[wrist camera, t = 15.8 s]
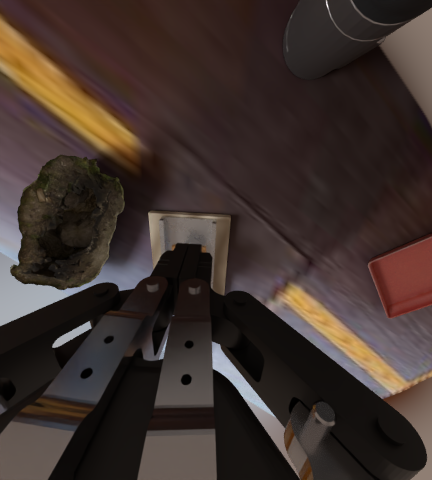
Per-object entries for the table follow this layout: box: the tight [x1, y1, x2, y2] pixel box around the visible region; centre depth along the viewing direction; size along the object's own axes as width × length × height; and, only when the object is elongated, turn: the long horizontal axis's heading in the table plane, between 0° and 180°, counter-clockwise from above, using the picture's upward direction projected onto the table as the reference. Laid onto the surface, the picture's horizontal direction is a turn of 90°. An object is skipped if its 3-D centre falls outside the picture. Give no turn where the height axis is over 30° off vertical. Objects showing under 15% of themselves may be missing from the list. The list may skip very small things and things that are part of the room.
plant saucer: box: [368, 233, 432, 319], centre depth 45 cm, size 18×18×3 cm
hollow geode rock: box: [10, 155, 125, 290], centre depth 38 cm, size 28×13×15 cm
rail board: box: [148, 210, 231, 295], centre depth 46 cm, size 16×22×2 cm
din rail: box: [159, 216, 217, 289], centre depth 44 cm, size 11×21×2 cm, turn 177°
